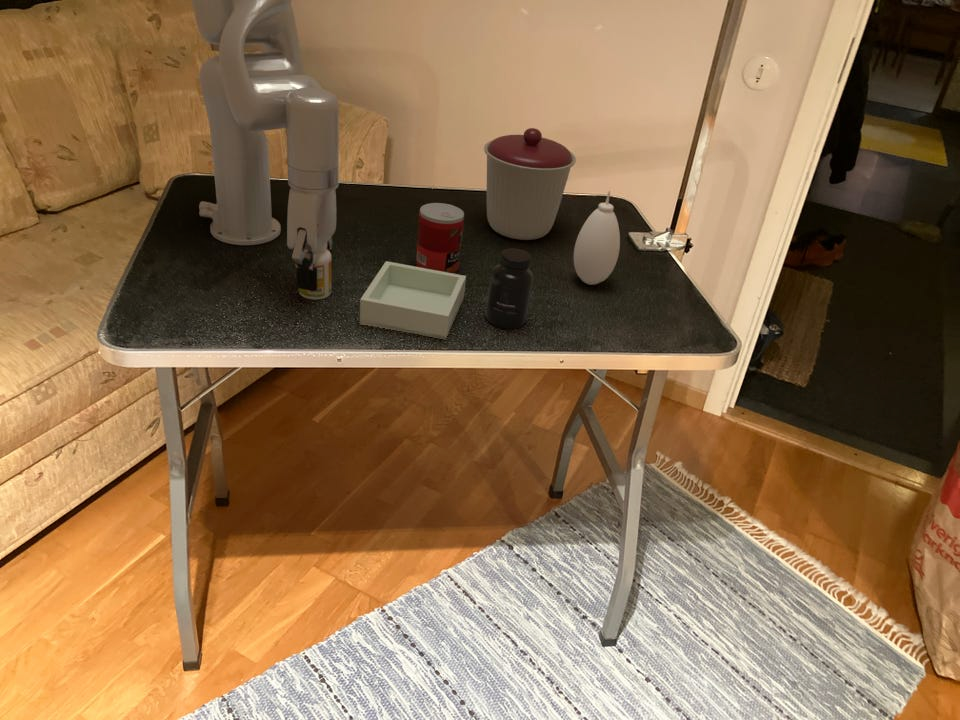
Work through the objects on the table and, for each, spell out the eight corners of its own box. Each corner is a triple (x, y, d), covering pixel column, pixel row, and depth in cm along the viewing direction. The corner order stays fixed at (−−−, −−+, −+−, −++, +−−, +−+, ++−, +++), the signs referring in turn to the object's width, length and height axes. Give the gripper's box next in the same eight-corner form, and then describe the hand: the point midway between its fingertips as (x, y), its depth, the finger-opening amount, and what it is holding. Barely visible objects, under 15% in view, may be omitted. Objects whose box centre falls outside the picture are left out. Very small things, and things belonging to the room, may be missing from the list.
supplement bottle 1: (315, 281, 128) (314, 229, 123) (338, 293, 126) (338, 240, 120) (291, 292, 124) (289, 238, 119) (314, 304, 122) (313, 250, 116)
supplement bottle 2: (495, 332, 121) (504, 266, 114) (478, 311, 126) (486, 246, 119) (533, 327, 123) (544, 262, 117) (515, 306, 128) (525, 243, 122)
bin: (359, 324, 118) (360, 299, 116) (384, 284, 130) (385, 261, 127) (445, 340, 117) (448, 316, 114) (463, 299, 128) (466, 276, 126)
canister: (535, 257, 145) (553, 151, 133) (458, 229, 152) (469, 126, 140) (576, 230, 158) (595, 131, 147) (503, 205, 165) (516, 109, 154)
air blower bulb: (561, 274, 141) (579, 182, 131) (598, 271, 143) (618, 181, 133) (580, 294, 135) (600, 200, 125) (618, 290, 137) (640, 198, 127)
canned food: (453, 280, 134) (459, 223, 128) (410, 271, 135) (414, 215, 129) (462, 262, 140) (468, 207, 134) (421, 254, 141) (425, 199, 135)
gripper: (310, 153, 121) (312, 253, 131) (266, 190, 107) (271, 299, 117) (355, 161, 120) (353, 261, 130) (316, 199, 106) (317, 308, 116)
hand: (314, 278), depth 123 cm, fingers open, 6 cm apart
